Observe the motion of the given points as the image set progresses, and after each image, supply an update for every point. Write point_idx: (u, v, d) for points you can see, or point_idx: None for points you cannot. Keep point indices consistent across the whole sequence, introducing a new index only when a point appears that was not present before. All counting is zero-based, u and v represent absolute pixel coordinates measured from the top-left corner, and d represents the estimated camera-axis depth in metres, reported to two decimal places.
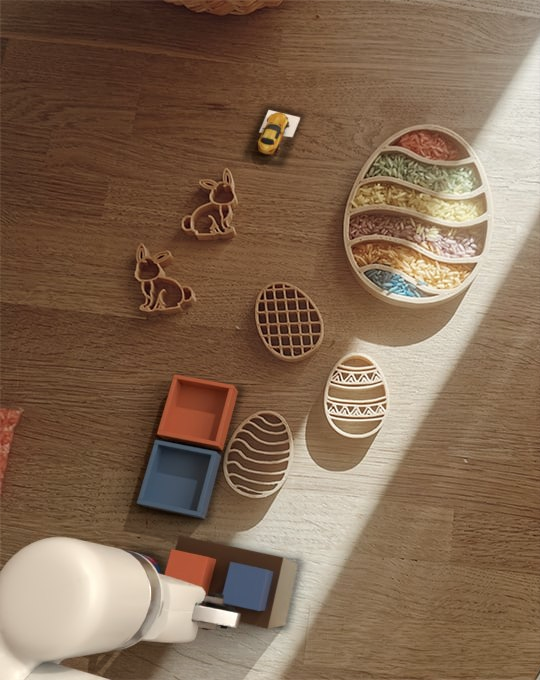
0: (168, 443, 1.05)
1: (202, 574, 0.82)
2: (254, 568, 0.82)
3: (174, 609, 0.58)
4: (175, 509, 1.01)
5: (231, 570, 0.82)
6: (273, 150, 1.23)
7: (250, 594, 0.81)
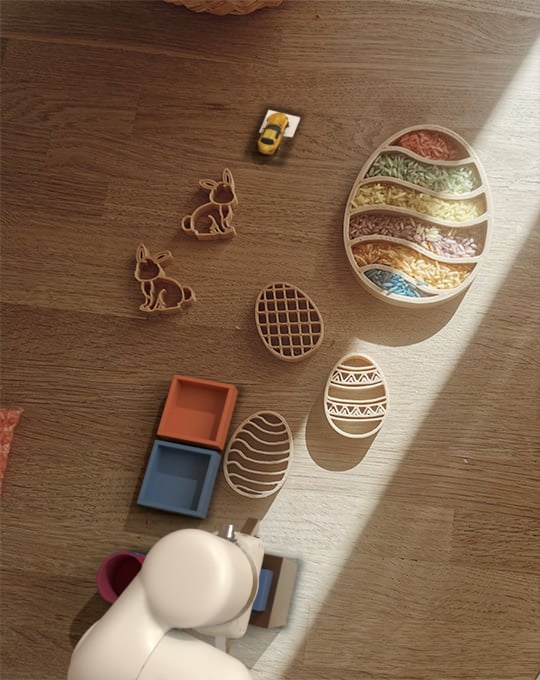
0: (168, 443, 1.05)
1: None
2: None
3: (210, 633, 0.68)
4: (175, 509, 1.01)
5: None
6: (273, 150, 1.23)
7: None
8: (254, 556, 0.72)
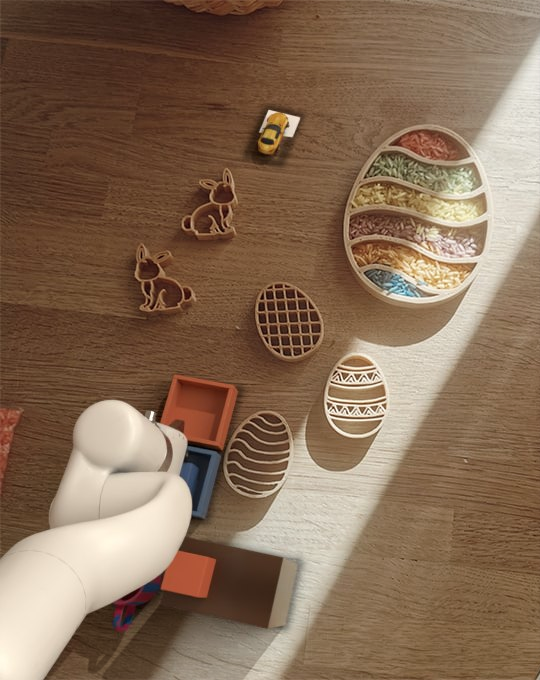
0: None
1: (202, 574, 0.82)
2: None
3: None
4: None
5: None
6: (273, 150, 1.23)
7: None
8: (173, 440, 0.91)
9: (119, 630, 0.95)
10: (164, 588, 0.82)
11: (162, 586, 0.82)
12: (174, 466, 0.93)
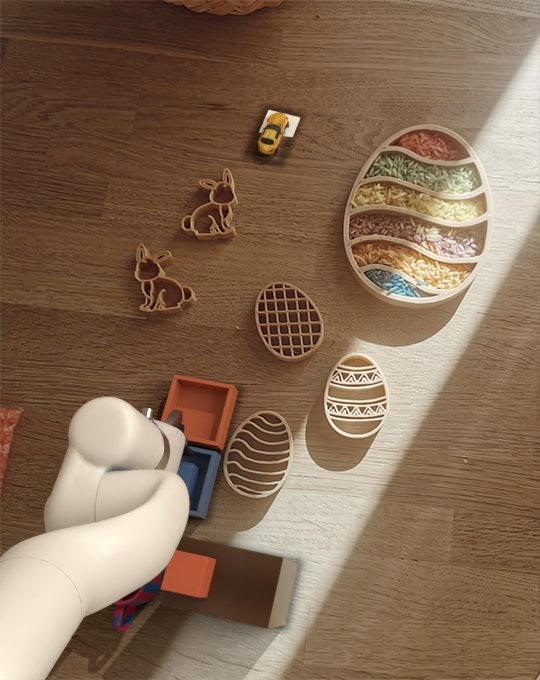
0: None
1: (202, 574, 0.82)
2: (182, 462, 1.02)
3: None
4: None
5: None
6: (273, 150, 1.23)
7: None
8: (171, 438, 0.90)
9: (119, 630, 0.95)
10: (164, 588, 0.82)
11: (162, 586, 0.82)
12: (172, 464, 0.92)
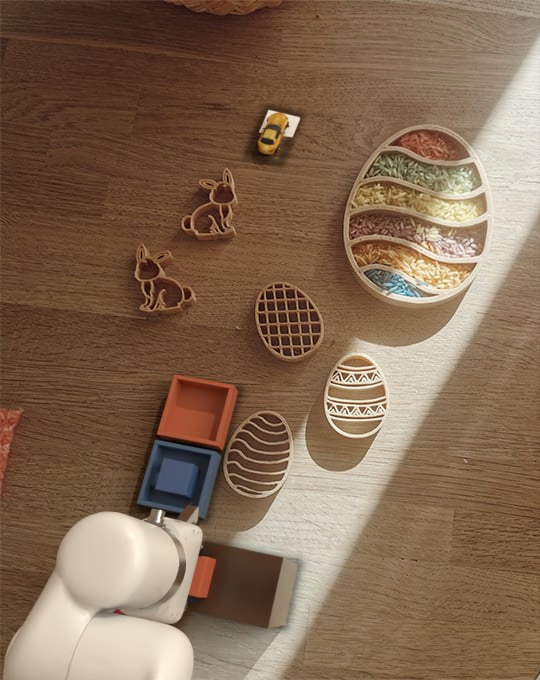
0: (168, 443, 1.05)
1: (202, 574, 0.82)
2: (182, 462, 1.02)
3: (139, 617, 0.69)
4: (175, 509, 1.01)
5: (164, 464, 1.02)
6: (273, 150, 1.23)
7: (178, 483, 1.01)
8: (186, 542, 0.73)
9: None
10: None
11: None
12: (187, 572, 0.74)
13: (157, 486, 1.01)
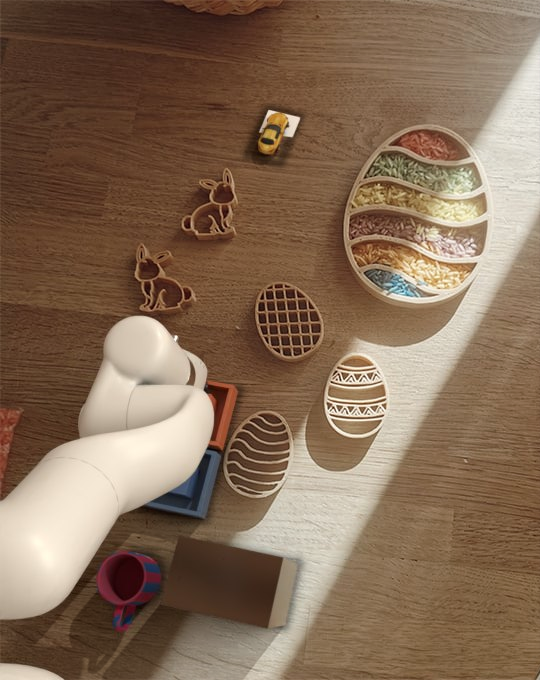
0: None
1: None
2: None
3: None
4: (175, 509, 1.01)
5: None
6: (273, 150, 1.23)
7: None
8: (195, 366, 0.95)
9: (119, 630, 0.95)
10: None
11: None
12: None
13: None
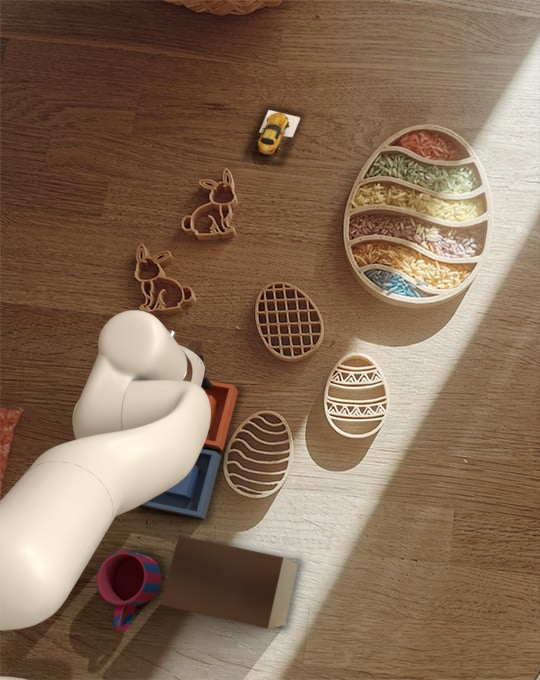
0: None
1: None
2: None
3: None
4: (175, 509, 1.01)
5: None
6: (273, 150, 1.23)
7: (178, 483, 1.01)
8: (192, 362, 0.94)
9: (119, 630, 0.95)
10: None
11: None
12: None
13: None
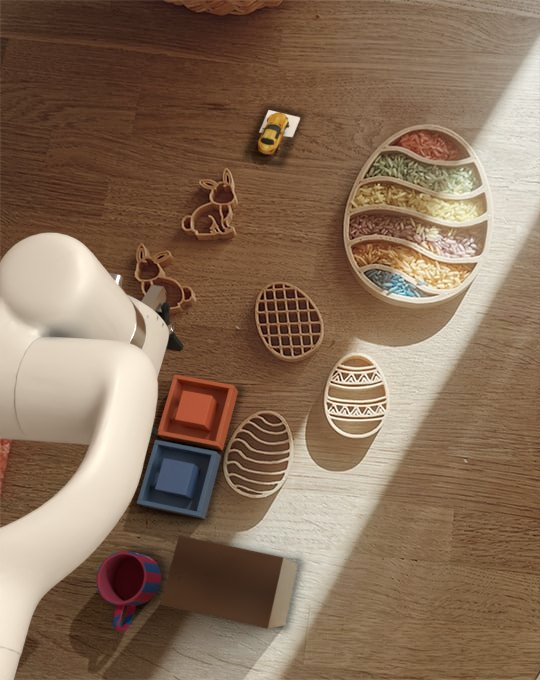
0: (168, 443, 1.05)
1: (207, 408, 1.05)
2: (182, 462, 1.02)
3: None
4: (175, 509, 1.01)
5: (164, 464, 1.02)
6: (273, 150, 1.23)
7: (178, 483, 1.01)
8: (148, 321, 0.68)
9: (119, 630, 0.95)
10: (177, 418, 1.04)
11: (176, 417, 1.04)
12: (150, 358, 0.69)
13: (157, 486, 1.01)
